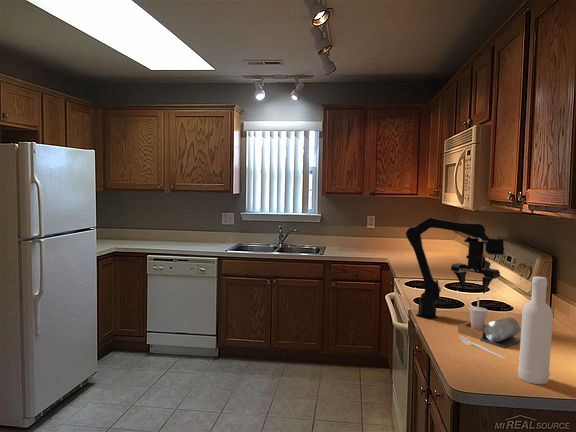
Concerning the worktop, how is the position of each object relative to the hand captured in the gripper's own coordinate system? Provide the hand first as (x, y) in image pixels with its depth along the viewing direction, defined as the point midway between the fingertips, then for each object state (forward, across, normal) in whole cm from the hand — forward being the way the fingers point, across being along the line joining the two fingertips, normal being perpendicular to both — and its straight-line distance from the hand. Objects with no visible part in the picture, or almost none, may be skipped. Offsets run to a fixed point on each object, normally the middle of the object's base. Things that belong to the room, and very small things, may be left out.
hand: (473, 290), depth 188 cm
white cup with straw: (+13, -10, +13) cm, 21 cm away
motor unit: (+13, -14, +13) cm, 23 cm away
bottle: (+13, -42, +38) cm, 58 cm away
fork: (+14, -20, +27) cm, 36 cm away
